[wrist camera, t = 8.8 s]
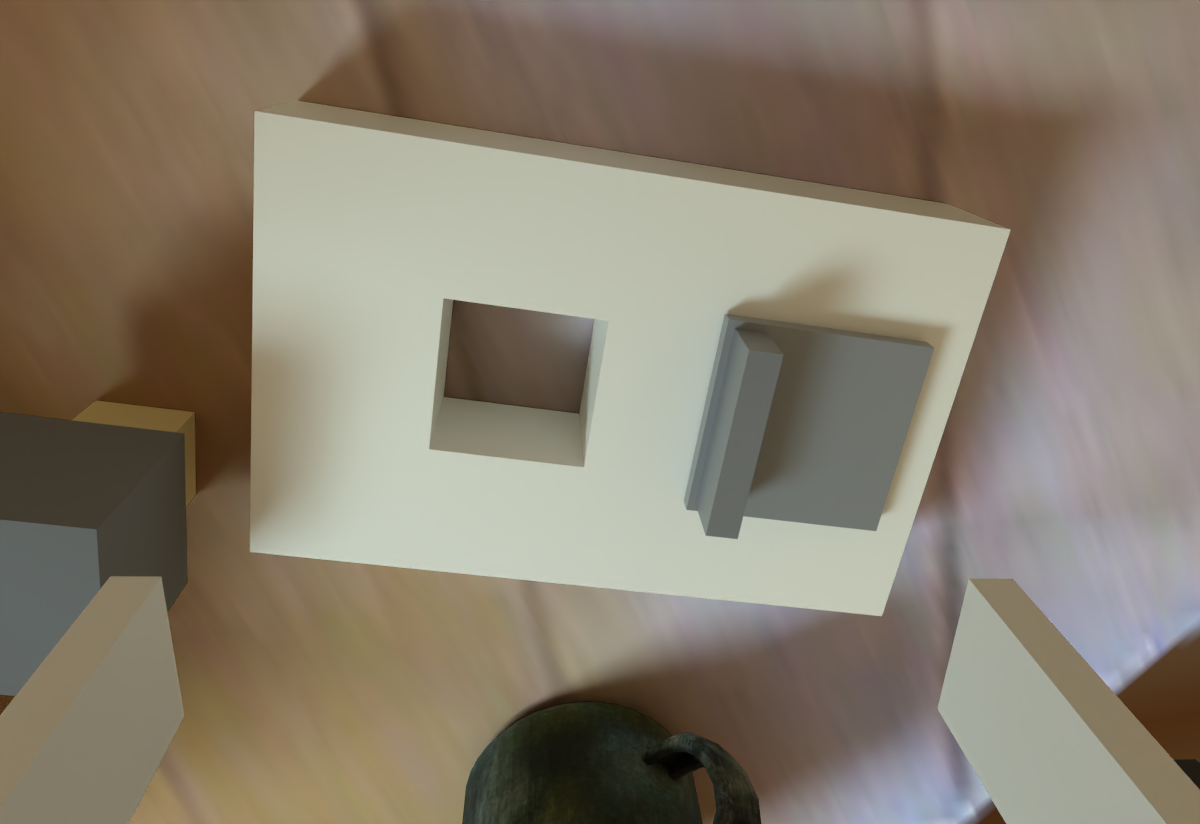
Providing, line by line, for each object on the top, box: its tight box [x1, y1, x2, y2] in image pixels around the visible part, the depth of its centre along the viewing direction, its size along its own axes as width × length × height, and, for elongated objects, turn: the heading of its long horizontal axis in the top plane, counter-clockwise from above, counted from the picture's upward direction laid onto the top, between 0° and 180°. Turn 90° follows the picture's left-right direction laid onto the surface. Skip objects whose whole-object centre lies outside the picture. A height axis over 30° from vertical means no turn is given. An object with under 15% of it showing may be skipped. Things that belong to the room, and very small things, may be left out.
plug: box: [0, 400, 196, 696], centre depth 28 cm, size 6×6×10 cm
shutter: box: [684, 314, 934, 539], centre depth 27 cm, size 6×6×3 cm
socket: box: [250, 101, 1011, 616], centre depth 30 cm, size 22×14×4 cm, turn 81°
